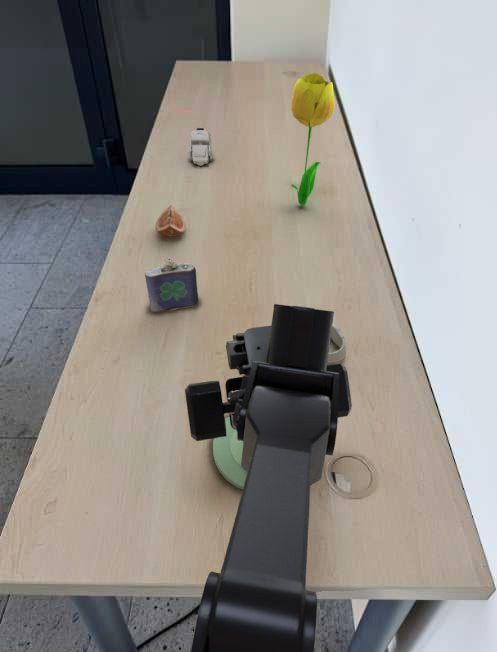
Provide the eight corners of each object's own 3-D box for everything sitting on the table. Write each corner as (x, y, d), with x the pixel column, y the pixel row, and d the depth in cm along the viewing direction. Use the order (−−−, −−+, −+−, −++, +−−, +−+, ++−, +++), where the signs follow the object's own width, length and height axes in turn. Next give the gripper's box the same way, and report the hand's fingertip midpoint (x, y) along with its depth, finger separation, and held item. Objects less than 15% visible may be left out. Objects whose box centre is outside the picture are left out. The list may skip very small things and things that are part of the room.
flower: (292, 219, 116) (304, 86, 95) (279, 202, 121) (288, 72, 100) (325, 212, 118) (343, 81, 97) (311, 196, 123) (325, 68, 102)
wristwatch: (352, 359, 84) (357, 339, 81) (322, 371, 82) (325, 352, 79) (322, 326, 90) (326, 306, 86) (293, 337, 88) (296, 317, 84)
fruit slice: (185, 244, 108) (183, 224, 104) (155, 245, 108) (152, 225, 104) (186, 223, 114) (184, 204, 110) (157, 224, 113) (154, 205, 110)
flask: (151, 314, 92) (143, 269, 84) (149, 304, 94) (142, 259, 86) (199, 306, 93) (196, 261, 86) (196, 296, 95) (193, 252, 88)
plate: (309, 497, 66) (310, 493, 66) (207, 490, 67) (207, 486, 66) (307, 412, 76) (307, 408, 75) (218, 406, 77) (218, 402, 76)
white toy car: (211, 168, 137) (211, 132, 136) (210, 162, 130) (210, 124, 130) (190, 168, 137) (190, 132, 136) (188, 162, 130) (188, 124, 130)
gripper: (360, 318, 50) (316, 322, 65) (178, 343, 47) (178, 340, 63) (374, 425, 50) (327, 404, 65) (193, 456, 47) (189, 426, 63)
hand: (256, 391), depth 64 cm, fingers closed
